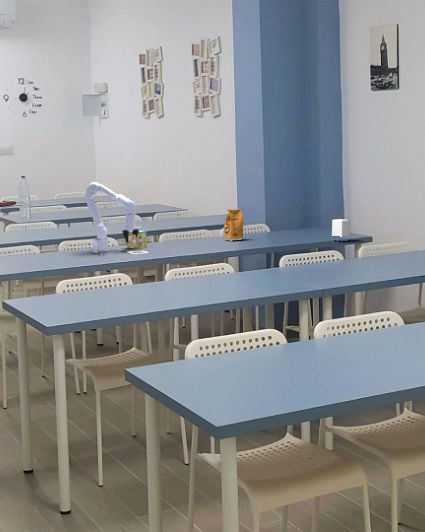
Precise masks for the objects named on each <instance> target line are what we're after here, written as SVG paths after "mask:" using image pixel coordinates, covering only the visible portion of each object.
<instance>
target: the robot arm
mask: <svg viewBox="0 0 425 532" xmlns="http://www.w3.org/2000/svg"><path fill="white" fill-rule="evenodd" d="M97 192H98V193H103V194H105V195H107V196H109V198H112V199H114V202H115V203H116V204H118V205H120V206H121V207H123V208H125V209H126V210H125V227H119V231H120V232H121V233H122V235H123V237H124V240H125V243H126V242H128V236H129V232H128V231H132V233H133V234H134V235H136V237H137V235H138V233H139V231H143V230H142V226H138V227H135V226H136V212H135V211H136V210H135V209H136V203H135V201H133V200H131V199H130V198H127V197H126V196H124V194H120V193H118V194H117V193H115V192H114V191H112V190H111V189H109V188H108V187H106V186H105V185H103V184H100V183H98V182H97V181H92V182H91V183H89V185H88V186H87V188H86V192H85V195H84V198H85V199H84V200H85V202H86V204H87V208H88V209H89V212H90V215H91V218H92V220H93V222H94V226H95V230H96V238H93V239H92V243H91V246H92V248H91V249H92V251H91V252H92V253H95V254H100V253H102V252H108V251H109V237H108V236H107V235H108V232H109V230H108V228H107V227H106V226H105V224H104V223H103V220H102V217H101V215H100V212H99V210H98V207H97V205H96V202H95V200H94V198H95V195H96V194H97Z"/></svg>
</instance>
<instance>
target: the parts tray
mask: <svg viewBox="0 0 425 532" xmlns="http://www.w3.org/2000/svg"><path fill="white" fill-rule="evenodd" d="M142 250H143V249H141V251H129V252H126V253H128V254H130V255H142V254H149V252H148V251H146V250H144V251H142Z"/></svg>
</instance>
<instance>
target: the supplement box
mask: <svg viewBox="0 0 425 532" xmlns="http://www.w3.org/2000/svg"><path fill="white" fill-rule="evenodd" d="M331 221H332V222H331V224H332V225H331V237H332V236H340V237H343V236H348V235H349V236H350V228H351V227H350V225H351V220H350V219H345V218H344V219H343V218H339V219H332V220H331Z"/></svg>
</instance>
